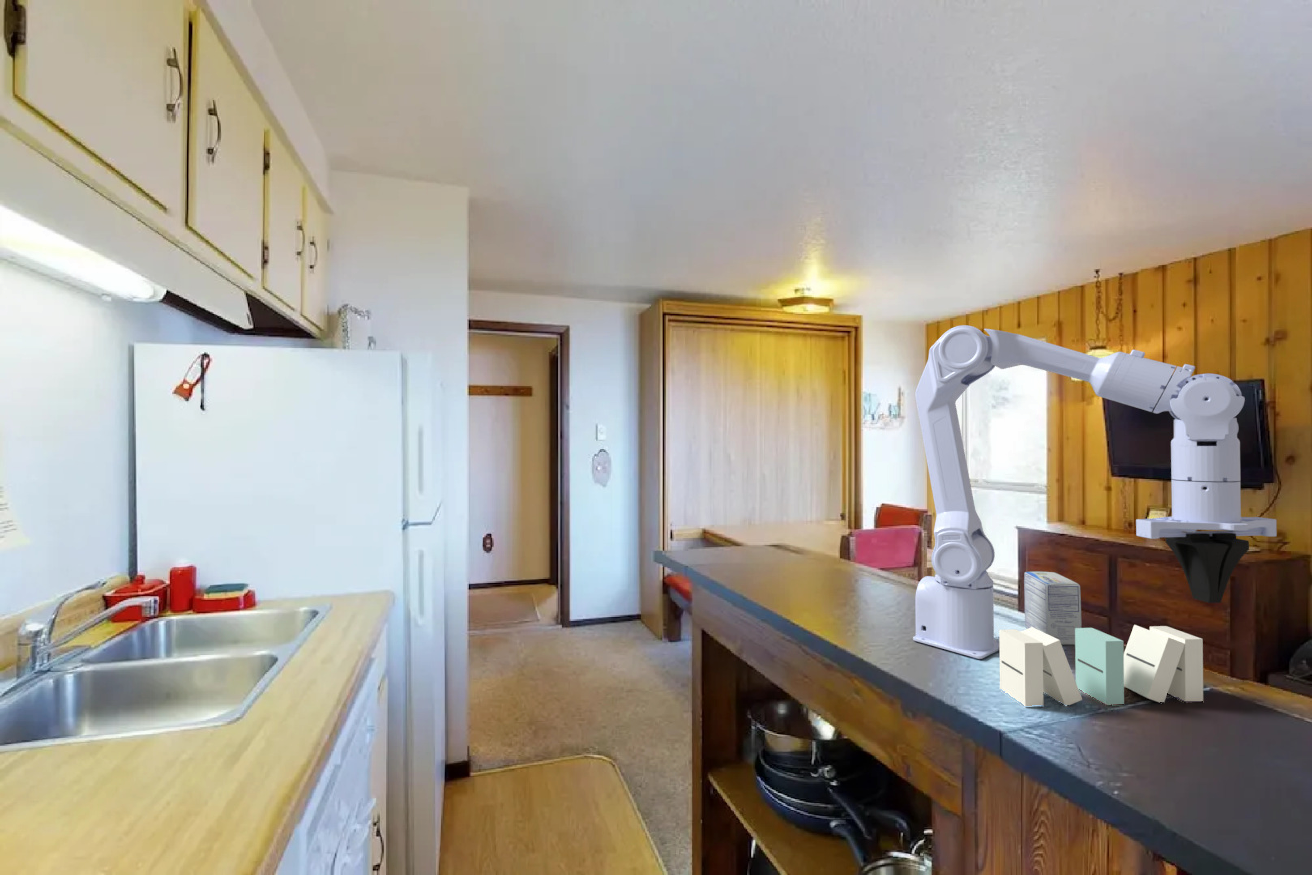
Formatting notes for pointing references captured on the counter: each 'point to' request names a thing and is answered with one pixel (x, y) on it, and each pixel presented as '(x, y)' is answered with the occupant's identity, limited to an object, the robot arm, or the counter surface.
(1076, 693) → the domino
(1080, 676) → the domino
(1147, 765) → the counter surface
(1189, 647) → the domino
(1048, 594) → the medicine box
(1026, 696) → the domino
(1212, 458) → the robot arm
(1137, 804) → the counter surface
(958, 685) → the counter surface
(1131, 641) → the domino
